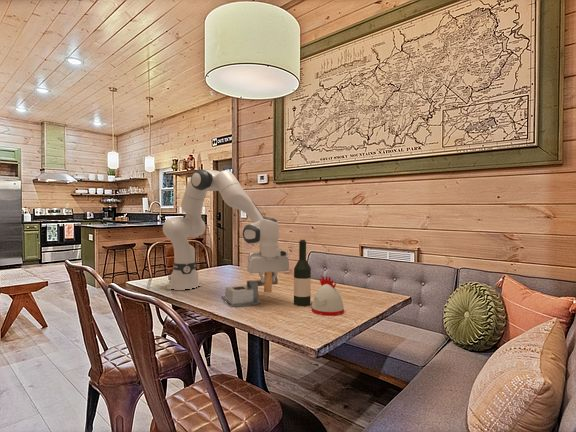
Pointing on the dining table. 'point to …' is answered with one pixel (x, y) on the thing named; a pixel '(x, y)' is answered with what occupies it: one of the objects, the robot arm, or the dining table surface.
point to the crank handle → (263, 282)
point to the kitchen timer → (327, 299)
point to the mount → (242, 295)
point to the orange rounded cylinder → (268, 282)
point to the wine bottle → (302, 278)
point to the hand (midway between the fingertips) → (268, 281)
